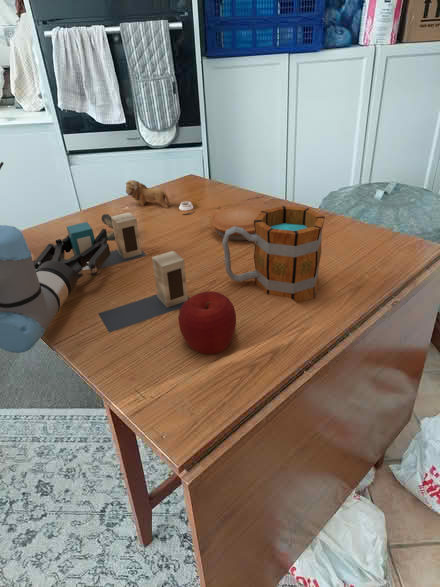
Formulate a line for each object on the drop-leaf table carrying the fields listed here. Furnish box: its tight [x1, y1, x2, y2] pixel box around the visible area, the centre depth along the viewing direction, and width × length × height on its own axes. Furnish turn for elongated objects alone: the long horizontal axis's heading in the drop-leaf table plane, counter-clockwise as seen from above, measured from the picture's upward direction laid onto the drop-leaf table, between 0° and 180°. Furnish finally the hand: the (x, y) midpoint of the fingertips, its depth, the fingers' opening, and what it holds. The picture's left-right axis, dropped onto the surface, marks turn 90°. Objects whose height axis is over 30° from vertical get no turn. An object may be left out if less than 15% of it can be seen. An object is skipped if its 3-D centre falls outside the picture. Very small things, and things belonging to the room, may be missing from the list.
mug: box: [221, 205, 326, 304], centre depth 85 cm, size 20×14×15 cm
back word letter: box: [111, 211, 143, 259], centre depth 99 cm, size 5×4×9 cm
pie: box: [209, 206, 262, 242], centre depth 111 cm, size 15×16×5 cm
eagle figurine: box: [101, 213, 116, 241], centre depth 110 cm, size 8×7×9 cm
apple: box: [177, 291, 237, 355], centre depth 71 cm, size 10×10×10 cm
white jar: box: [178, 200, 196, 216], centre depth 124 cm, size 5×3×5 cm
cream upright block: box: [151, 250, 189, 308], centre depth 82 cm, size 5×4×9 cm
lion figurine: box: [125, 179, 173, 209], centre depth 125 cm, size 15×5×9 cm, turn 80°
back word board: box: [99, 249, 147, 270], centre depth 100 cm, size 7×17×2 cm, turn 119°
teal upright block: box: [66, 221, 96, 256], centre depth 95 cm, size 5×4×9 cm
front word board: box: [97, 294, 190, 334], centre depth 82 cm, size 7×17×2 cm, turn 119°
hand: (90, 234), depth 99 cm, fingers closed on teal upright block, 6 cm apart
